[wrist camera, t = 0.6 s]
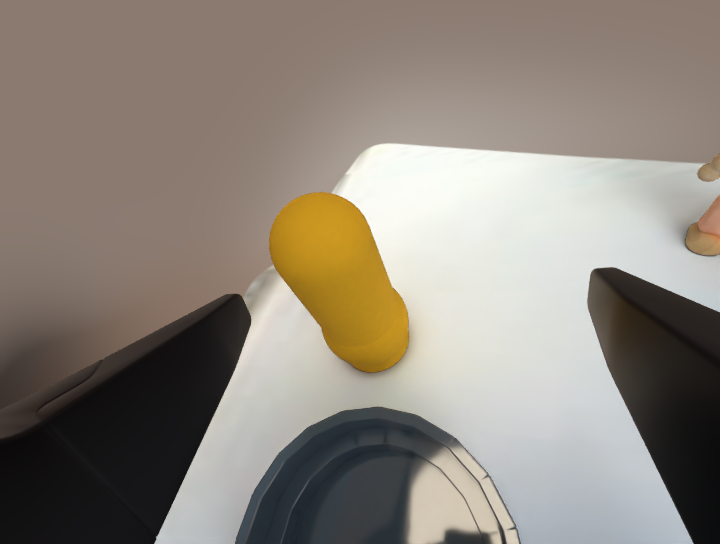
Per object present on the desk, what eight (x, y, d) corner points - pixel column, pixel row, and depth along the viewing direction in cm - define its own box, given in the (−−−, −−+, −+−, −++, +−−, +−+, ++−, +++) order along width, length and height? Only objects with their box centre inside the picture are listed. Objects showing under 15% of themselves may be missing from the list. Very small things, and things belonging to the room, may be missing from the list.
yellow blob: (405, 385, 24) (342, 266, 13) (327, 370, 26) (218, 257, 15) (421, 308, 26) (379, 161, 16) (349, 301, 29) (271, 166, 18)
